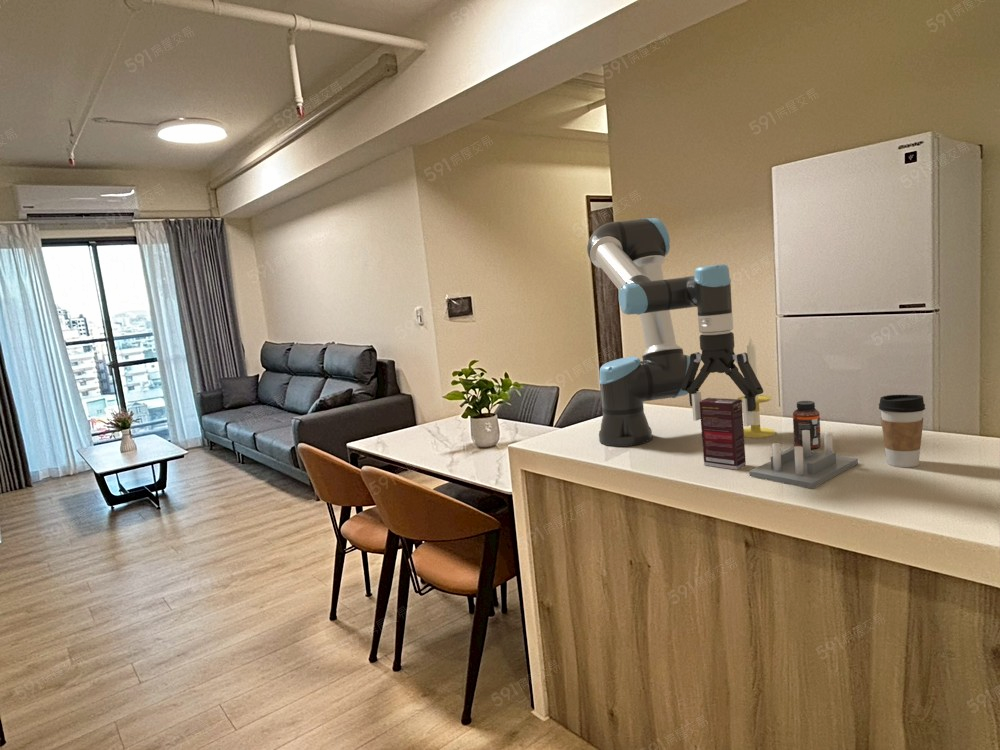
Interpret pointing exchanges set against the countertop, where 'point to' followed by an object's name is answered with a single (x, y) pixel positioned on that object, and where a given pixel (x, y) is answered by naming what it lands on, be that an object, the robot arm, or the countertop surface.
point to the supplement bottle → (806, 423)
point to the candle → (755, 428)
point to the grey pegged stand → (804, 464)
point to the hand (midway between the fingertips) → (722, 422)
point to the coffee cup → (902, 428)
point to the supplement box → (722, 432)
